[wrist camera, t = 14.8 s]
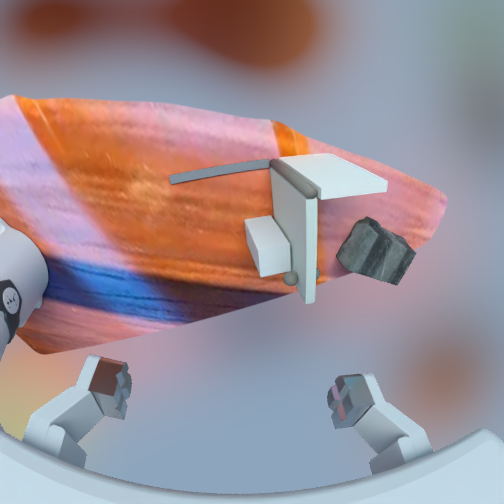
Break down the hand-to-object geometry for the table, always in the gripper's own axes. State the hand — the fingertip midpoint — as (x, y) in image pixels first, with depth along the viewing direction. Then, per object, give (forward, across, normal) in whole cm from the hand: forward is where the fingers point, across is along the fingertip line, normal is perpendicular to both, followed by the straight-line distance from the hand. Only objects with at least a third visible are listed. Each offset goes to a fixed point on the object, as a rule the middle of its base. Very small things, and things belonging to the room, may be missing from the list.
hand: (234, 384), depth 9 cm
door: (+32, -7, +3) cm, 33 cm away
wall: (+32, -3, -2) cm, 32 cm away
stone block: (+36, -28, +9) cm, 46 cm away
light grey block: (+32, -5, +7) cm, 33 cm away
